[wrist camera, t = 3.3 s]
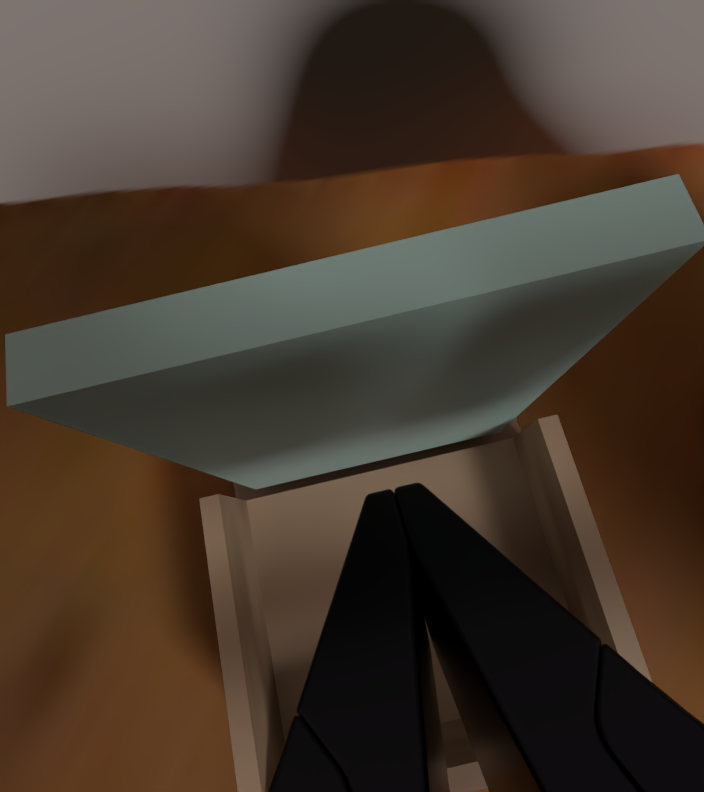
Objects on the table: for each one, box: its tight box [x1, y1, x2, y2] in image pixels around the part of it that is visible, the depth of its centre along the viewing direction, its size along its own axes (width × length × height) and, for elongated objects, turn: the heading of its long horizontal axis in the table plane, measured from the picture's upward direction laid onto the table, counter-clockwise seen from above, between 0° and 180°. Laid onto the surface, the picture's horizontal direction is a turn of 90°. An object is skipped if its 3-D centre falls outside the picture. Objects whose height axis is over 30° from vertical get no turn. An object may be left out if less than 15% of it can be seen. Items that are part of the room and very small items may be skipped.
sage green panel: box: [5, 174, 704, 489], centre depth 12 cm, size 2×9×12 cm, turn 103°
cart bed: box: [199, 415, 653, 792], centre depth 16 cm, size 10×11×5 cm
